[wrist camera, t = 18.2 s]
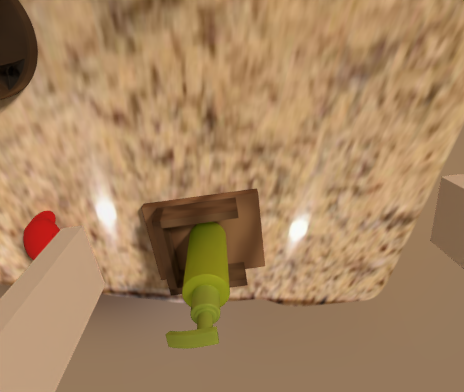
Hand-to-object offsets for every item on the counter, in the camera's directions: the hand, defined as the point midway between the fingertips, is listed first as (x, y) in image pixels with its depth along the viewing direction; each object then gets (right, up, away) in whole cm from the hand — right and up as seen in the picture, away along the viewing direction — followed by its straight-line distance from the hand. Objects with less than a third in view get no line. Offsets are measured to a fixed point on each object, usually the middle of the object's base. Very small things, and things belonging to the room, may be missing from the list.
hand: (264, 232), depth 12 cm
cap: (-30, -4, +38) cm, 49 cm away
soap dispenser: (-6, -5, +39) cm, 40 cm away
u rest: (-5, -5, +40) cm, 41 cm away
